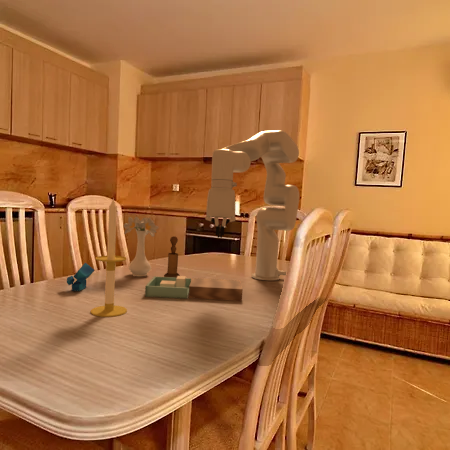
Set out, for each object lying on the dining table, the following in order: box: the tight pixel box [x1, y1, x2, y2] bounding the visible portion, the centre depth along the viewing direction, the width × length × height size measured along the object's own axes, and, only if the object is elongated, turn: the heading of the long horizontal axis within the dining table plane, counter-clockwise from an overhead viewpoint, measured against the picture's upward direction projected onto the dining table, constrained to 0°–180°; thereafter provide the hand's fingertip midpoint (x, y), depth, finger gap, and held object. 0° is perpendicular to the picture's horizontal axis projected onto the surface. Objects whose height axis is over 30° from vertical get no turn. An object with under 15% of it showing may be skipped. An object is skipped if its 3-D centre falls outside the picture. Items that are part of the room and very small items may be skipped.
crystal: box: [66, 262, 95, 292], centre depth 127 cm, size 7×9×12 cm
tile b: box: [160, 280, 176, 287], centre depth 130 cm, size 5×5×3 cm
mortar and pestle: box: [163, 236, 181, 278], centre depth 148 cm, size 7×6×18 cm
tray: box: [144, 276, 192, 299], centre depth 130 cm, size 14×16×4 cm
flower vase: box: [123, 216, 160, 278], centre depth 155 cm, size 13×18×25 cm
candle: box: [90, 197, 128, 318], centre depth 103 cm, size 10×10×32 cm
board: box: [188, 277, 244, 302], centre depth 131 cm, size 18×14×4 cm
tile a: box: [176, 275, 187, 288], centre depth 130 cm, size 5×5×3 cm
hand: (219, 237), depth 130 cm, fingers closed
